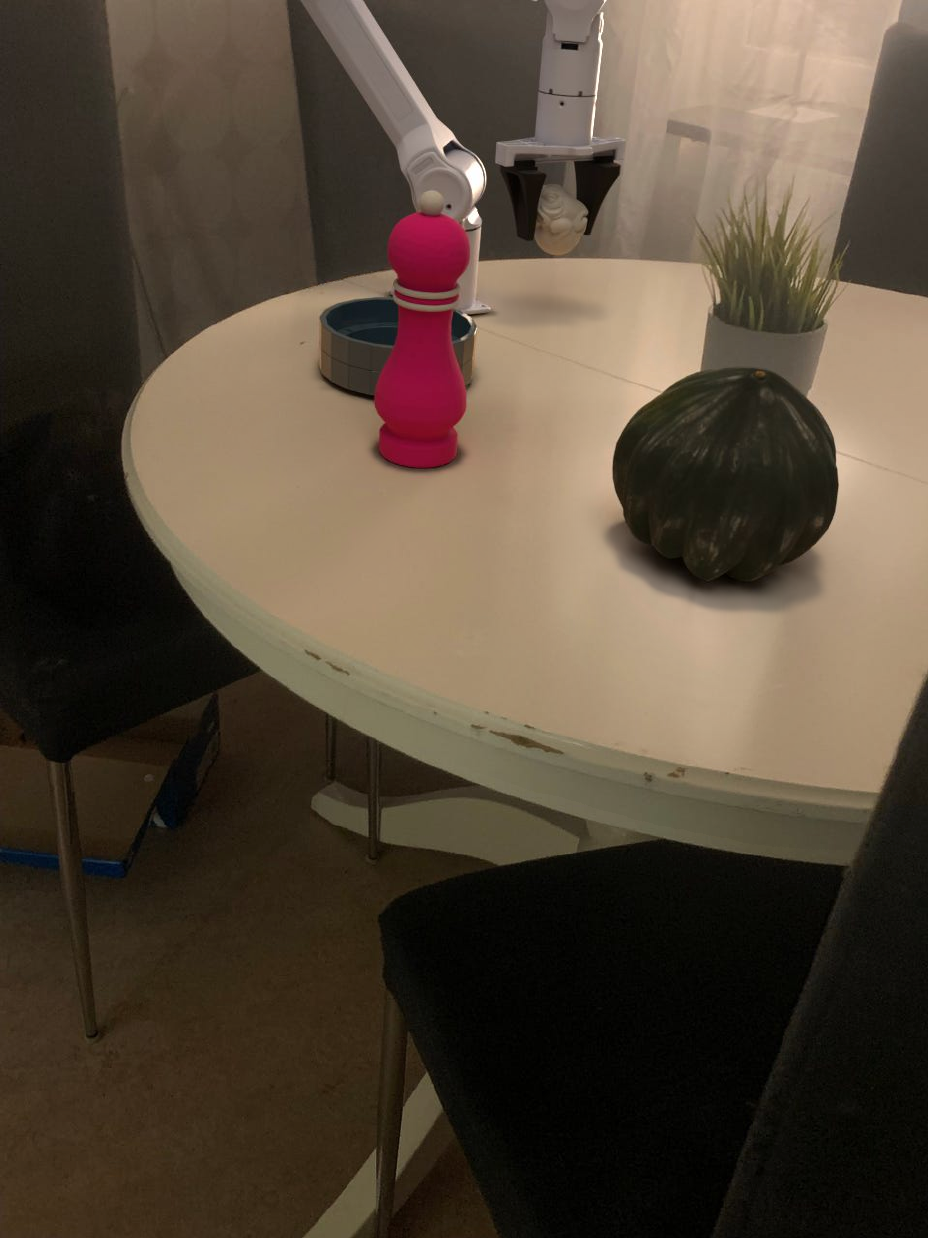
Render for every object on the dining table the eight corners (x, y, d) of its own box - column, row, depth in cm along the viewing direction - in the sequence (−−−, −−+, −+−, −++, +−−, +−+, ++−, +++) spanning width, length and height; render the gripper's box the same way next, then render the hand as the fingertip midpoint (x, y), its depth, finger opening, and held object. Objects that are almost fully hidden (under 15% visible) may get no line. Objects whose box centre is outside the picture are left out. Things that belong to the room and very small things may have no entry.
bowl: (296, 356, 103) (295, 304, 100) (428, 341, 109) (431, 291, 106) (358, 412, 93) (360, 355, 90) (500, 392, 99) (505, 339, 96)
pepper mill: (452, 477, 83) (472, 207, 72) (361, 463, 84) (368, 194, 73) (470, 440, 89) (492, 186, 78) (385, 427, 90) (395, 174, 79)
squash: (699, 411, 84) (664, 292, 71) (882, 482, 77) (881, 364, 64) (603, 561, 82) (549, 468, 69) (781, 648, 75) (759, 562, 62)
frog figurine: (511, 247, 115) (517, 178, 112) (572, 245, 117) (579, 177, 114) (532, 263, 111) (538, 191, 107) (594, 260, 113) (603, 190, 109)
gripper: (527, 100, 99) (515, 250, 107) (651, 97, 106) (632, 239, 113) (488, 88, 104) (479, 233, 112) (608, 86, 111) (593, 223, 118)
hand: (553, 235), depth 113 cm, fingers closed on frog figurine, 7 cm apart
